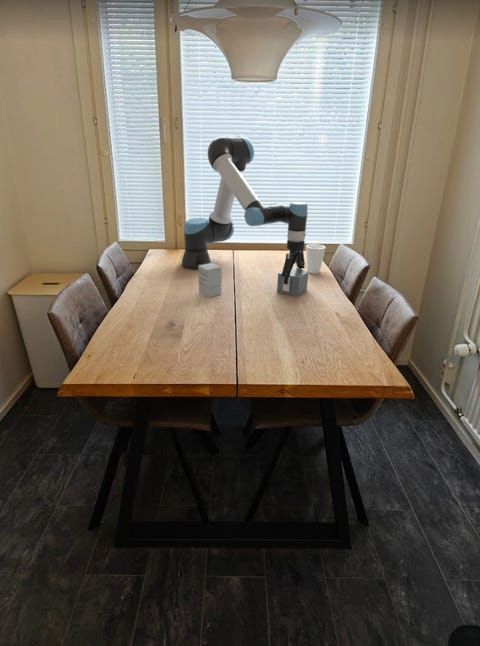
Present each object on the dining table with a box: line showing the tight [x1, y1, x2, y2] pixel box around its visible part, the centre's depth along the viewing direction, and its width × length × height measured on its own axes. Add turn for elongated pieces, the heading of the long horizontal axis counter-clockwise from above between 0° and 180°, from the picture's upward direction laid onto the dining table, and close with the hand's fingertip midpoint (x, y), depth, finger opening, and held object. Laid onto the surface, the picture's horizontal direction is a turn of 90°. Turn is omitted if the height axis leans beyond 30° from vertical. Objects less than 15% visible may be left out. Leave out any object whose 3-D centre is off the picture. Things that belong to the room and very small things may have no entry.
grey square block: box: [276, 268, 309, 297], centre depth 196 cm, size 10×10×9 cm
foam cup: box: [305, 243, 326, 274], centre depth 222 cm, size 10×9×13 cm
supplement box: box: [198, 262, 222, 298], centre depth 190 cm, size 7×7×13 cm
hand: (292, 286), depth 197 cm, fingers open, 13 cm apart
